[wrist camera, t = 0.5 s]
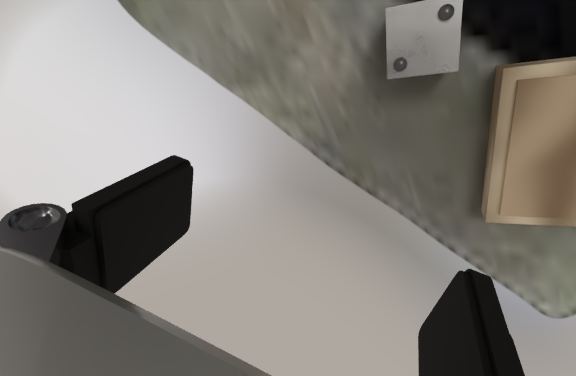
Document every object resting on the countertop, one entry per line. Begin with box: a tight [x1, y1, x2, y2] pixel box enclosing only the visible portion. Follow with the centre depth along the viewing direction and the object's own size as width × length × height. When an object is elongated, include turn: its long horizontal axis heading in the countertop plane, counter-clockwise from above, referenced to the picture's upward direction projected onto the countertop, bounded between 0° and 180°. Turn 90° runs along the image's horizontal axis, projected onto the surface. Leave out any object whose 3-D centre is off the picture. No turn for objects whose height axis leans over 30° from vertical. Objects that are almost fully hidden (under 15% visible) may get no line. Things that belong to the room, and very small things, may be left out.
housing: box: [386, 0, 463, 79], centre depth 25 cm, size 5×5×6 cm
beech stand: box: [481, 57, 576, 227], centre depth 26 cm, size 12×14×3 cm
